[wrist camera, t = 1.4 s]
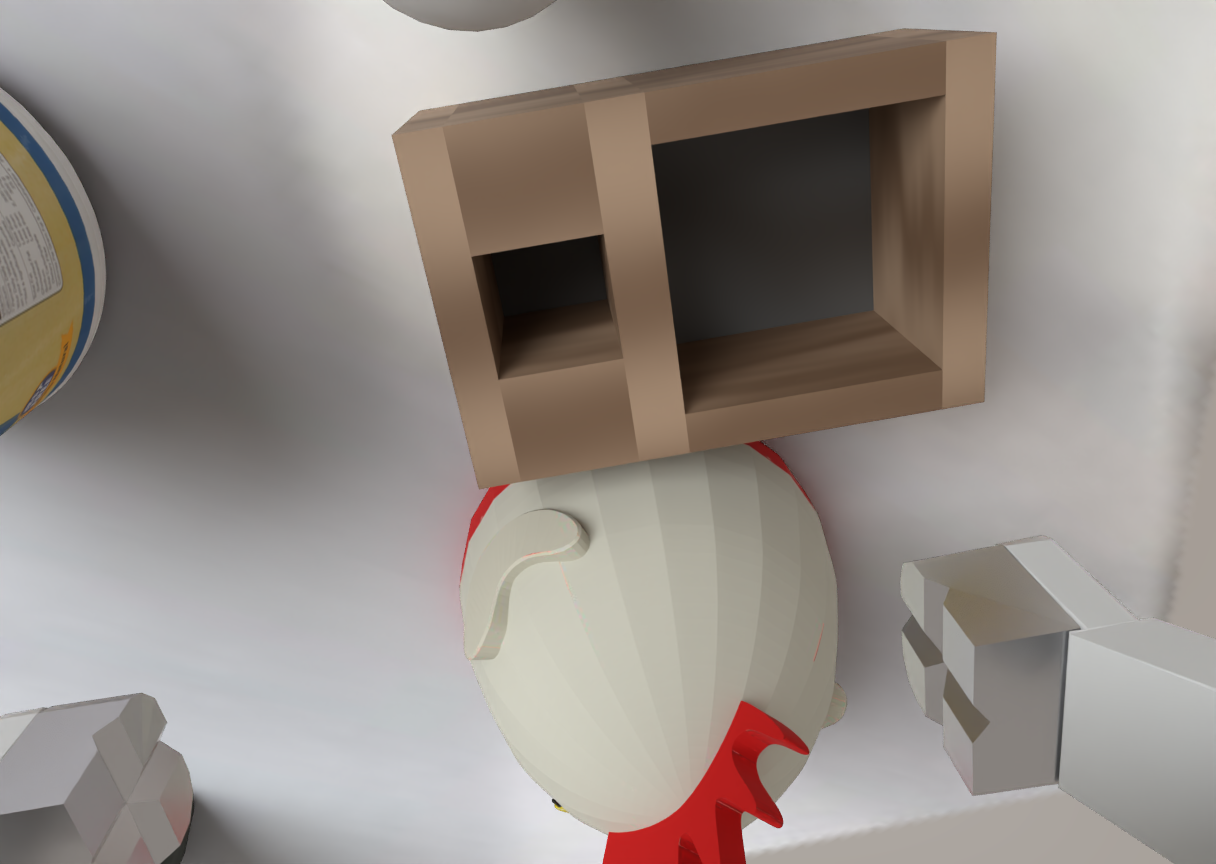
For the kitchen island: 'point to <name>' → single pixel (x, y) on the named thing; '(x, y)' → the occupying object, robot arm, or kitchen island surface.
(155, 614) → the kitchen island surface
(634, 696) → the kitchen timer
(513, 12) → the lightbulb
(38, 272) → the supplement tub
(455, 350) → the socket block
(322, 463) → the kitchen island surface
